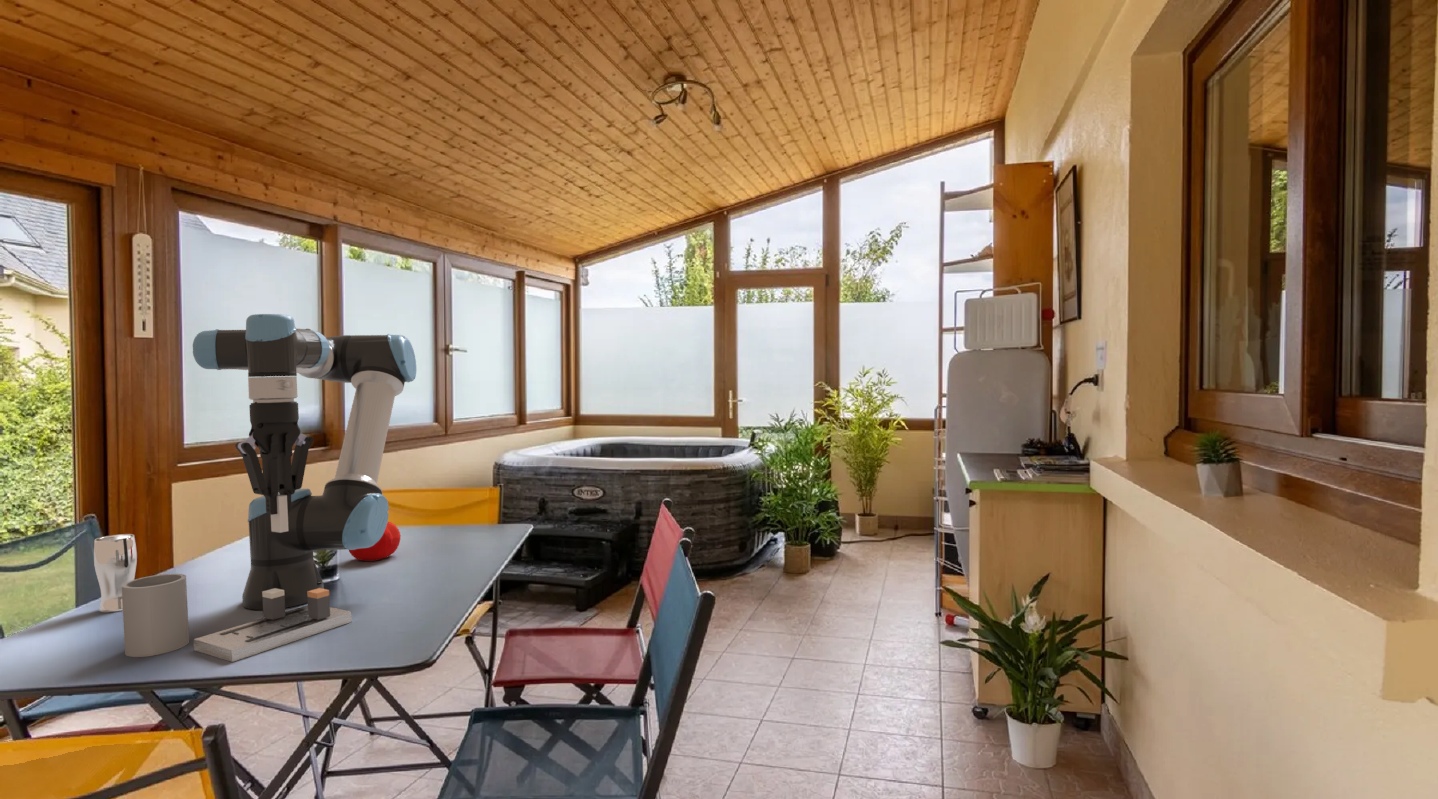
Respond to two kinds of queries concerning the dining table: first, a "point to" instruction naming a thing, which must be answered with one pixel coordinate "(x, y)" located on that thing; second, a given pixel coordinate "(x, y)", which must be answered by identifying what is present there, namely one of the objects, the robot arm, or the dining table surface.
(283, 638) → the console
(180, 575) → the cup
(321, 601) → the fader near
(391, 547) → the tomato
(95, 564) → the beer glass
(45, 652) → the dining table surface
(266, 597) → the fader far
